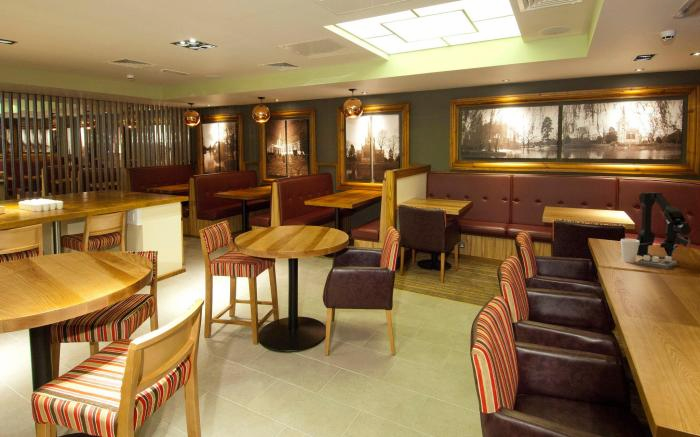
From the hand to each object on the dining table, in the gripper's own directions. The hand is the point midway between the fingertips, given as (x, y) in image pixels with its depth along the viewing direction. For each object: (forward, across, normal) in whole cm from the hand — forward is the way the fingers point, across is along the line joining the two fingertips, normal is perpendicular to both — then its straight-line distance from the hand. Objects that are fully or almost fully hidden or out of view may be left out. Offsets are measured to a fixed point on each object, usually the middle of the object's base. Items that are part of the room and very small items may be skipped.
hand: (669, 258), depth 251 cm
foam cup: (+4, -10, +18) cm, 21 cm away
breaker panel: (+4, -6, +5) cm, 8 cm away
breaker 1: (+1, -9, +9) cm, 13 cm away
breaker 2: (+1, -3, 0) cm, 3 cm away
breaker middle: (+1, -9, +5) cm, 10 cm away
